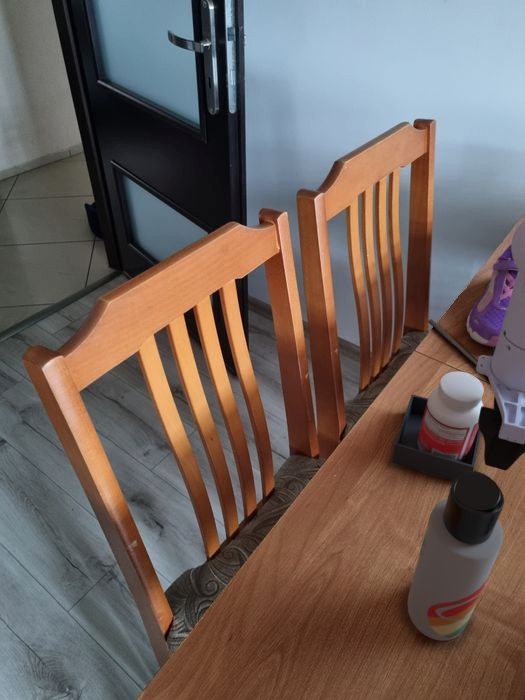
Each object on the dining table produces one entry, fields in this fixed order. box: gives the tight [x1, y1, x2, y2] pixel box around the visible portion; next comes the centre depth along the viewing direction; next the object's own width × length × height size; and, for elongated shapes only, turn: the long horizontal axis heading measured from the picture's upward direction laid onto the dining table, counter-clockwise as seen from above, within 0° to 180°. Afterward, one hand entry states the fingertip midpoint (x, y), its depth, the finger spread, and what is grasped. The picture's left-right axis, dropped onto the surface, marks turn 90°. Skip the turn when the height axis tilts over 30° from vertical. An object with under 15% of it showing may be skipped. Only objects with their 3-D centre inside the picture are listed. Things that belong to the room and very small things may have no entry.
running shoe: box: [466, 244, 518, 348], centre depth 86 cm, size 10×23×10 cm, turn 155°
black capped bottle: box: [407, 470, 505, 642], centre depth 47 cm, size 6×6×20 cm
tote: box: [391, 394, 482, 482], centre depth 68 cm, size 9×9×3 cm
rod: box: [427, 318, 478, 368], centre depth 81 cm, size 1×19×1 cm
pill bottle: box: [417, 371, 485, 462], centre depth 65 cm, size 6×6×11 cm
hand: (500, 437), depth 57 cm, fingers open, 7 cm apart
